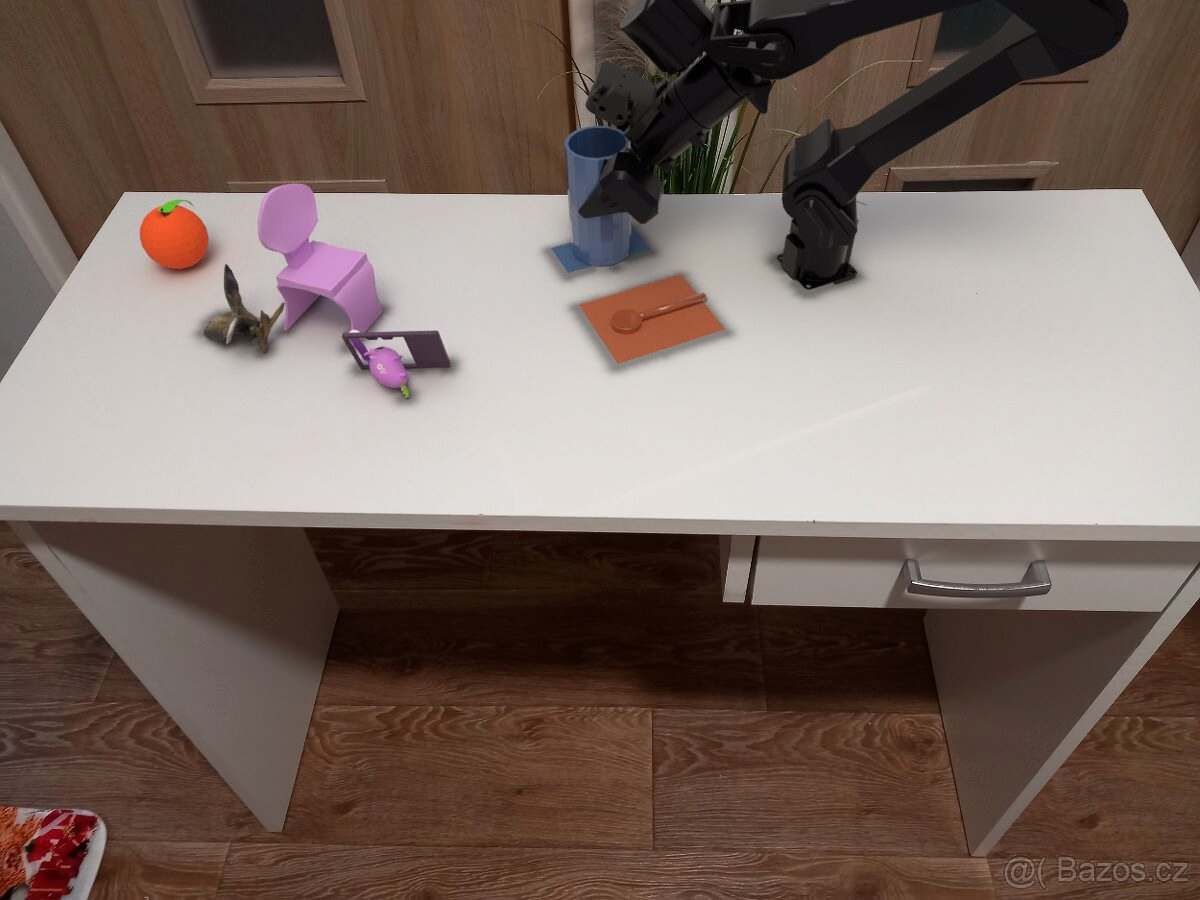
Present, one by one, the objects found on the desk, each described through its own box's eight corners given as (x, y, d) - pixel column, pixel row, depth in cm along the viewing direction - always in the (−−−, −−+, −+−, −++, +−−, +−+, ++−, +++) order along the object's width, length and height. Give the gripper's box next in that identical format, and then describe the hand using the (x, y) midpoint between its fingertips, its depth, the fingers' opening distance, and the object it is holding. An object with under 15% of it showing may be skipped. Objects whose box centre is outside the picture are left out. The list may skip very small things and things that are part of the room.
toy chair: (350, 356, 91) (310, 231, 80) (277, 336, 94) (229, 212, 82) (392, 306, 96) (360, 182, 85) (322, 288, 99) (282, 165, 87)
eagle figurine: (307, 314, 94) (246, 272, 96) (267, 293, 87) (203, 248, 89) (266, 375, 94) (207, 331, 96) (223, 359, 87) (160, 312, 89)
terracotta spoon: (699, 290, 96) (699, 283, 95) (713, 308, 94) (713, 301, 93) (605, 319, 93) (605, 312, 93) (618, 337, 91) (618, 331, 91)
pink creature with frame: (438, 323, 84) (342, 325, 84) (435, 373, 82) (337, 375, 82) (451, 357, 90) (361, 359, 90) (448, 404, 88) (357, 406, 88)
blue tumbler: (641, 241, 102) (641, 135, 92) (610, 273, 98) (607, 166, 88) (592, 225, 104) (587, 119, 95) (560, 254, 101) (552, 148, 91)
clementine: (182, 235, 106) (158, 182, 101) (234, 243, 105) (212, 190, 99) (141, 276, 101) (114, 222, 96) (195, 285, 100) (171, 231, 94)
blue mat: (631, 229, 104) (631, 225, 104) (650, 252, 101) (650, 248, 101) (551, 251, 102) (551, 247, 102) (568, 276, 99) (567, 272, 99)
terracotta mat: (680, 277, 98) (680, 274, 98) (724, 332, 92) (725, 329, 92) (579, 308, 95) (578, 304, 95) (617, 367, 89) (617, 363, 89)
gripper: (649, -1, 89) (548, 100, 99) (620, 90, 77) (509, 194, 87) (723, 80, 94) (620, 168, 104) (707, 177, 82) (593, 267, 92)
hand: (587, 196), depth 96 cm, fingers closed on blue tumbler, 6 cm apart
